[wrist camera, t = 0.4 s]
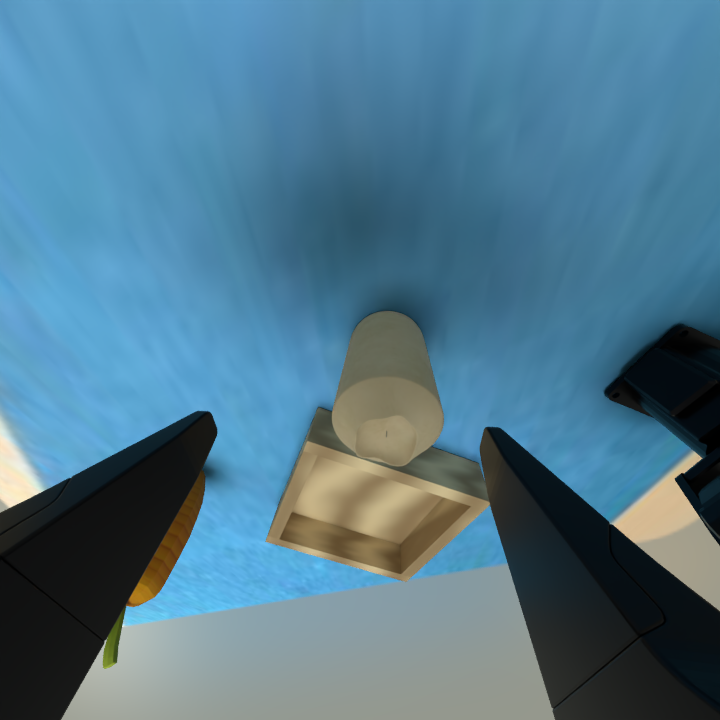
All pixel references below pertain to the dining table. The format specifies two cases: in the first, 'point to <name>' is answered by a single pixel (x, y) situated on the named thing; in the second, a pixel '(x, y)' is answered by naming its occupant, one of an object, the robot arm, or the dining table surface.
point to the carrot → (160, 563)
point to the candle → (387, 392)
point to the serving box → (374, 504)
